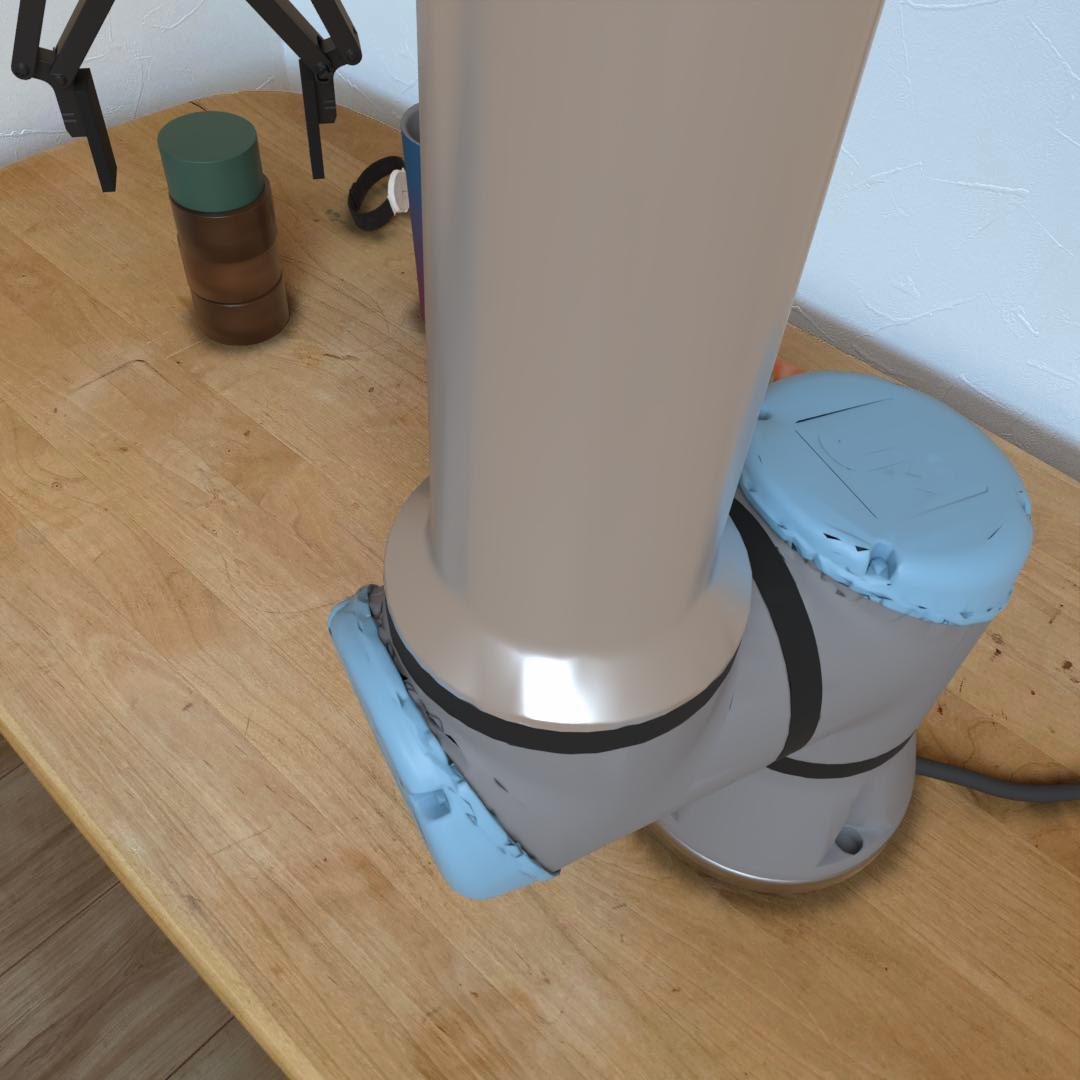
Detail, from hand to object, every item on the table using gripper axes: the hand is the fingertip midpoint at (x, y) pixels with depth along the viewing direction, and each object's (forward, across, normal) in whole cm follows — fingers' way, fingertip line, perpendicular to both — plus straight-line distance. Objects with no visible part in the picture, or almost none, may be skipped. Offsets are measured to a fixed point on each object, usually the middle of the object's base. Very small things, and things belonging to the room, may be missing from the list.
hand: (215, 174), depth 68 cm
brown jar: (+11, 0, 0) cm, 11 cm away
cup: (+12, -15, +2) cm, 19 cm away
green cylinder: (+1, 0, 0) cm, 1 cm away
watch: (+9, -10, -13) cm, 19 cm away
